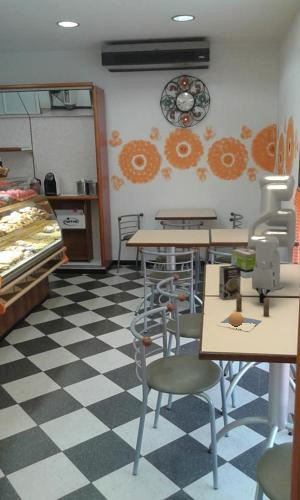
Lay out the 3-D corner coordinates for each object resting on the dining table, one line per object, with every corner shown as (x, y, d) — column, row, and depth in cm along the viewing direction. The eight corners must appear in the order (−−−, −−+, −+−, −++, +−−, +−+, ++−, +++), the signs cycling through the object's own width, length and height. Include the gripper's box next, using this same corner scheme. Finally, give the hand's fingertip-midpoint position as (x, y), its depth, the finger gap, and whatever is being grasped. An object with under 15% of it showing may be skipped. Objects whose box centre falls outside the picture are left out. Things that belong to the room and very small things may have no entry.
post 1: (237, 309, 197) (237, 293, 195) (242, 310, 195) (242, 294, 194) (235, 311, 195) (235, 294, 193) (240, 312, 193) (240, 295, 192)
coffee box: (224, 300, 211) (224, 268, 207) (218, 296, 217) (218, 266, 213) (240, 298, 213) (241, 267, 210) (235, 294, 219) (235, 264, 216)
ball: (226, 327, 177) (232, 321, 181) (240, 330, 173) (245, 324, 178) (226, 314, 175) (232, 308, 180) (239, 316, 172) (245, 311, 176)
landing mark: (231, 315, 190) (231, 314, 190) (261, 321, 182) (261, 320, 182) (217, 325, 179) (217, 325, 179) (248, 332, 171) (248, 331, 171)
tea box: (230, 273, 261) (230, 249, 258) (243, 271, 266) (244, 247, 263) (245, 278, 248) (246, 254, 245) (259, 276, 252) (260, 252, 249)
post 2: (264, 314, 189) (264, 297, 188) (269, 315, 188) (270, 298, 186) (262, 316, 187) (262, 299, 186) (267, 317, 186) (268, 299, 184)
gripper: (282, 264, 196) (281, 302, 200) (251, 261, 205) (251, 297, 209) (276, 268, 190) (275, 307, 194) (245, 264, 199) (244, 301, 203)
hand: (262, 302), depth 201 cm, fingers closed
